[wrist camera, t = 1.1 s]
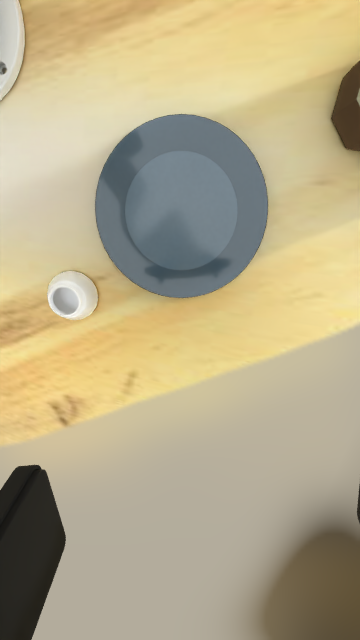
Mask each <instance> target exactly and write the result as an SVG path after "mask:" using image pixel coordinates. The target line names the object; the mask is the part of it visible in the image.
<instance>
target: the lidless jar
mask: <svg viewBox="0 0 360 640" xmlns="http://www.w3.org/2000/svg"><path fill="white" fill-rule="evenodd" d="M47 297H48V302H49V305H50V307H51V309H52V310H53V311H54V312H55V313H56V314H58V315H60V316H61V317H63V318H66V319H70V320H80V319H84V318H85V317H87V316H89V315H91V314H92V312H93V311H94V309H95V308H96V306H97V302H98V293H97V289H96V287H95V285H94V284H93V282H92V281H91V279H89V278H88V277H87V276H85V275H84V274H82V273H79V272H75V271H67V272H62V273H60V274H58V275H57V276H55V277H54V278H53V279H52V281H51V282H50V284H49V285H48V293H47Z"/></svg>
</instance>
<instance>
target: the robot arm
mask: <svg viewBox="0 0 360 640" xmlns="http://www.w3.org/2000/svg"><path fill="white" fill-rule="evenodd" d="M24 47H25V32H24V22H23V16H22V10H21V7H20V3H19V0H0V100H1V99H2V98H3V97H4V96H5V95H6V94H7V93H8V92H9V90H10V89H11V87H12V86H13V84H14V82H15V80H16V78H17V77H18V74H19V71H20V68H21V65H22V61H23V54H24ZM5 71H6V73H5ZM357 515H358V520H359V522H360V486H359V497H358V508H357ZM65 538H66V537H65V532H64V528H63V525H62V522H61V518H60V515H59V512H58V509H57V505H56V502H55V499H54V495H53V492H52V489H51V486H50V482H49V479H48V476H47V473H46V471H45V470H42V469H41V467H40V466H39V465H29V466H19V467H17V468H16V469H15V470H14V471H13V472H12V474H11V475H10V477H9V478H8V480H7V481H6V483H5V484H4V486H3V487H2V489H1V490H0V640H31V639H32V636H33V634H34V631H35V628H36V625H37V623H38V620H39V617H40V614H41V611H42V609H43V606H44V603H45V600H46V598H47V595H48V592H49V589H50V587H51V584H52V581H53V578H54V575H55V573H56V570H57V567H58V564H59V562H60V559H61V556H62V553H63V550H64V547H65V541H66V539H65Z"/></svg>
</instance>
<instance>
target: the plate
mask: <svg viewBox="0 0 360 640" xmlns="http://www.w3.org/2000/svg"><path fill="white" fill-rule="evenodd" d="M95 213H96V221H97V227H98V231H99V234H100V238H101V240H102V243H103V245H104V248H105V249H106V251H107V253H108V255H109V257H110V258H111V260H112V261H113V262H114V264H115V265H116V267H117V268H118V269H119V270H120V271H121V272H122V273H123V274H124V275H125V276H126V277H127V278H129V279H130V280H131V281H132V282H134V283H135V284H137V285H138V286H140V287H141V288H144V289H146V290H148V291H150V292H152V293H155V294H158V295H162V296H167V297H175V298H188V297H196V296H201V295H204V294H207V293H211V292H213V291H215V290H217V289H219V288H221V287H223V286H225V285H226V284H228V283H229V282H231V281H232V280H233V279H234V278H236V277H237V276H238V275H239V274H240V273H241V272H242V271H243V270H244V269H245V268H246V267H247V265H248V264H249V262H250V261H251V260H252V258H253V257H254V255H255V253H256V251H257V250H258V248H259V245H260V243H261V241H262V238H263V235H264V231H265V228H266V222H267V215H268V197H267V189H266V184H265V180H264V177H263V174H262V171H261V169H260V166H259V164H258V162H257V160H256V159H255V157H254V155H253V153H252V152H251V151H250V149H249V148H248V147H247V145H246V144H245V143H244V142H243V141H242V140H241V139H240V138H239V137H238V136H237V135H236V134H235V133H233V132H232V131H231V130H229V129H228V128H227V127H225V126H223V125H221V124H219V123H218V122H215V121H213V120H210V119H208V118H205V117H200V116H196V115H187V114H177V115H167V116H163V117H159V118H156V119H153V120H151V121H148V122H146V123H144V124H142V125H141V126H139V127H137V128H135V129H134V130H133V131H132V132H130V133H129V134H128V135H127V136H125V137H124V138H123V139H122V140H121V142H120V143H119V144H118V145H117V146H116V147H115V149H114V150H113V151H112V153H111V154H110V156H109V157H108V159H107V161H106V163H105V165H104V167H103V170H102V172H101V175H100V178H99V182H98V186H97V191H96V200H95Z"/></svg>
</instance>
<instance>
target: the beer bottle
mask: <svg viewBox="0 0 360 640" xmlns="http://www.w3.org/2000/svg"><path fill="white" fill-rule="evenodd" d="M332 120H333V122H334V124H335V126H336V128H337V130H338V132H339V134H340V136H341V138H342V140H343V143H344V145H345V147H346V148H347V149H351V150H356V151H360V61H359V62H358V63H357V64H356V65H355V66H354V67H353V68H352V69H351V70H350V71H349V72H348V73H347V74H346V76H345V77H344V78H343V80H342V83H341V87H340V90H339V94H338V98H337V101H336V105H335V108H334V112H333V116H332Z"/></svg>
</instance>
